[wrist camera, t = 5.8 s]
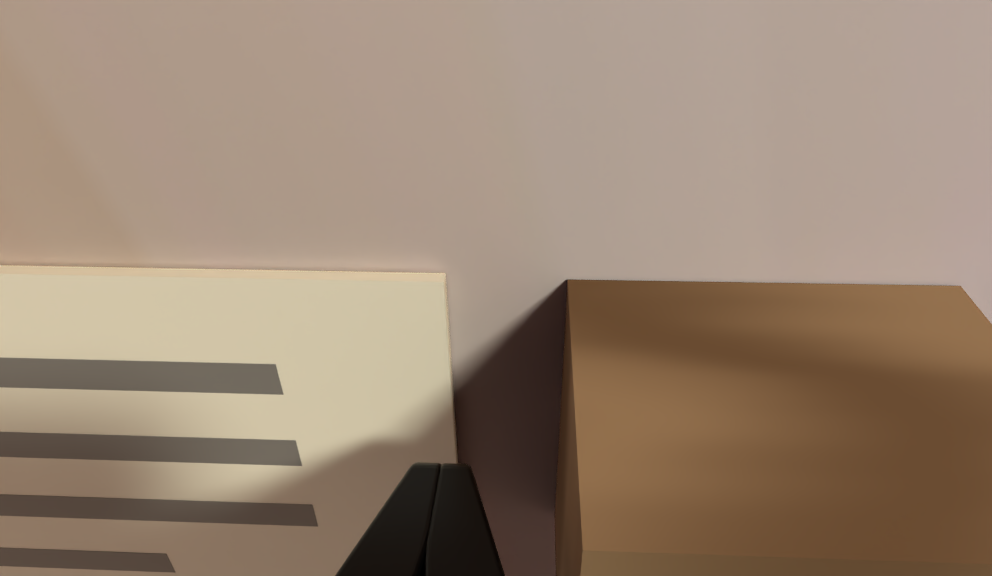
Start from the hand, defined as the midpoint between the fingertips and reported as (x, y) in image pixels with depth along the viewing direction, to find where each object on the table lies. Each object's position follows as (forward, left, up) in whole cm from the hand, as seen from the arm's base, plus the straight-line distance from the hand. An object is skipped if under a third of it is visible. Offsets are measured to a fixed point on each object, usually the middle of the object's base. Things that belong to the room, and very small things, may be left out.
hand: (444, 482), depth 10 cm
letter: (-7, -3, -1) cm, 7 cm away
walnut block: (+4, 0, -1) cm, 4 cm away
